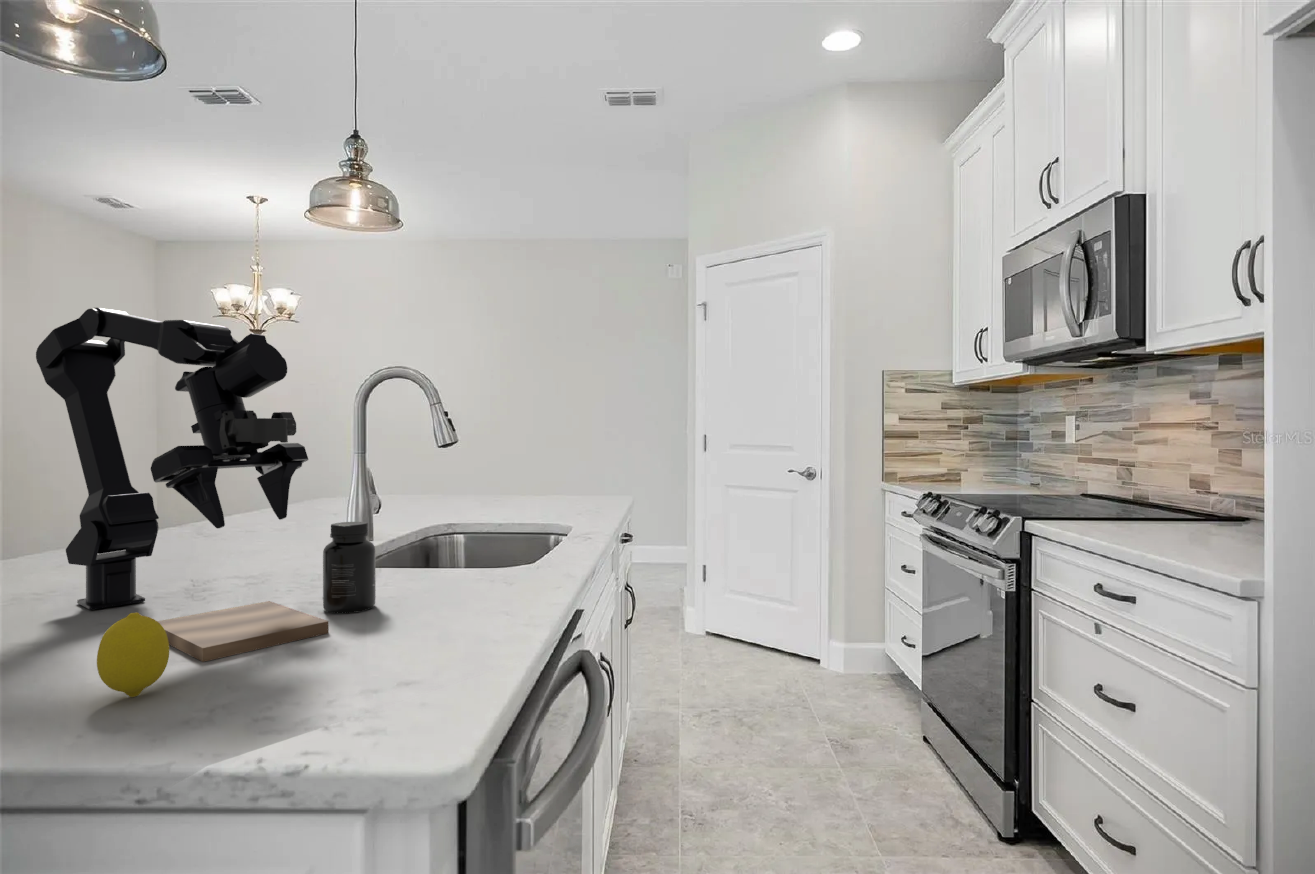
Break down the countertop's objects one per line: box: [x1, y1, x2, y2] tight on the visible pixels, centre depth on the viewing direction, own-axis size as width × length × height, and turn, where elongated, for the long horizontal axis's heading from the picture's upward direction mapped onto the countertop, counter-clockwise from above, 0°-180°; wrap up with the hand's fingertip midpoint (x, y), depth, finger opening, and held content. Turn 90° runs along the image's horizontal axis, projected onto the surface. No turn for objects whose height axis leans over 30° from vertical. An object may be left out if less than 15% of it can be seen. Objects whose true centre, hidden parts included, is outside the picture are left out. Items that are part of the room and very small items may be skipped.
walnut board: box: [156, 600, 330, 663], centre depth 88 cm, size 16×14×2 cm
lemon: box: [96, 611, 170, 698], centre depth 68 cm, size 6×6×8 cm
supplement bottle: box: [322, 521, 377, 614], centre depth 101 cm, size 7×7×12 cm
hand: (253, 522), depth 93 cm, fingers open, 9 cm apart
